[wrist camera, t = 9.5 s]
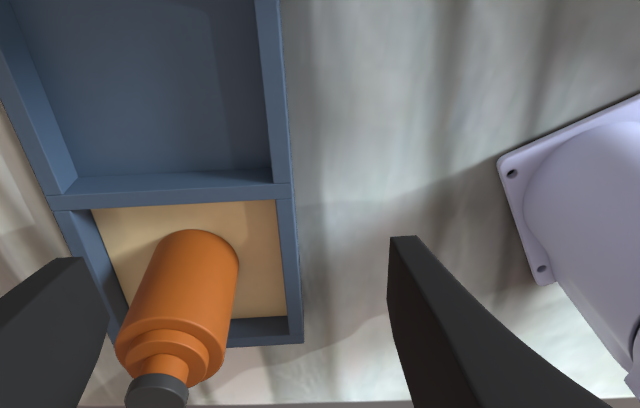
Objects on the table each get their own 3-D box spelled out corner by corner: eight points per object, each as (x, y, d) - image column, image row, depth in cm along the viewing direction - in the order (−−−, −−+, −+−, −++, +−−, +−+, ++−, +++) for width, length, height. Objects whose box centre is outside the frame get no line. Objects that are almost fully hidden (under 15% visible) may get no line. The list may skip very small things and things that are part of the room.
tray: (303, 315, 26) (304, 343, 24) (129, 326, 26) (116, 355, 24) (272, -90, 15) (269, -92, 13) (-37, -78, 15) (-82, -79, 13)
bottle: (255, 273, 23) (238, 415, 16) (189, 302, 24) (147, 448, 17) (206, 215, 21) (164, 351, 14) (135, 250, 22) (64, 393, 15)
